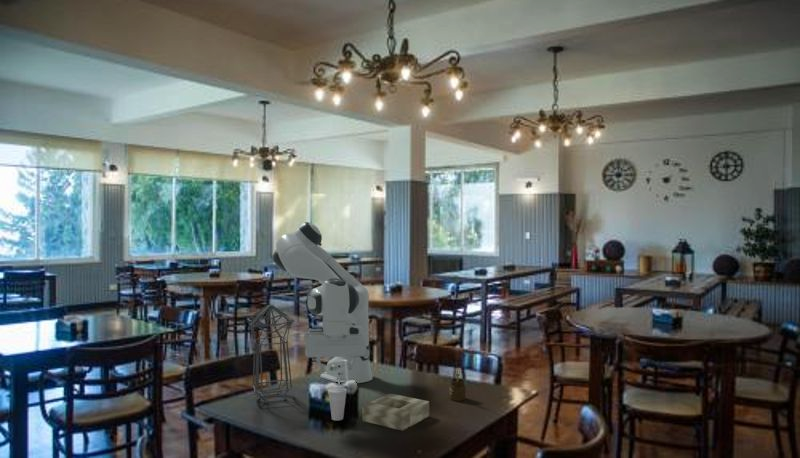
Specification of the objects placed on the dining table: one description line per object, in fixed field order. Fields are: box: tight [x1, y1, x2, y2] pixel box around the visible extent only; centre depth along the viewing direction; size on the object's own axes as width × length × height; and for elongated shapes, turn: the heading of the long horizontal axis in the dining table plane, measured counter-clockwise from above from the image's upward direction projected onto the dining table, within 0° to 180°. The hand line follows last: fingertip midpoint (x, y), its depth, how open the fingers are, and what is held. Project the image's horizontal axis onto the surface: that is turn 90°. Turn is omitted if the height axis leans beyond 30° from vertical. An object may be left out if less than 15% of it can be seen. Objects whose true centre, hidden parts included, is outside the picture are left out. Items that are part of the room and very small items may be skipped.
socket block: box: [361, 393, 430, 431], centre depth 186 cm, size 16×16×5 cm
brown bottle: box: [448, 367, 467, 402], centre depth 207 cm, size 6×6×12 cm
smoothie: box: [327, 376, 348, 421], centre depth 185 cm, size 6×6×14 cm
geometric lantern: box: [245, 304, 295, 404], centre depth 206 cm, size 16×16×35 cm
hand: (336, 369), depth 185 cm, fingers open, 8 cm apart
